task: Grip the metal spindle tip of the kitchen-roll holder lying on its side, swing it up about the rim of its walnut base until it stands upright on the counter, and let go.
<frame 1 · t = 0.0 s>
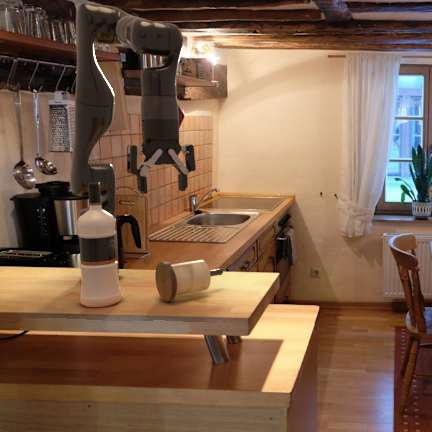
hand: (163, 192, 124), 29 cm above the worktop, tool pointing down, fingers open, 8 cm apart
towel holder: (194, 276, 146), point 5 cm above the worktop, hinge at 0.0°
vodka: (101, 303, 140), on the worktop
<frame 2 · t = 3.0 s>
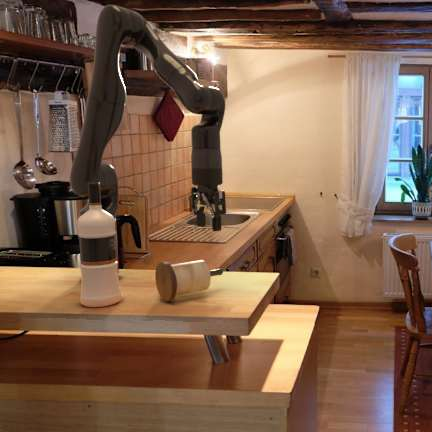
hand: (208, 228, 146), 18 cm above the worktop, tool pointing down, fingers open, 8 cm apart
nothing on the worktop moved.
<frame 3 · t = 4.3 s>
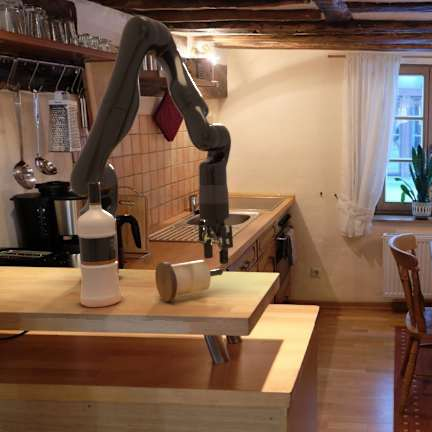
hand: (216, 260, 150), 8 cm above the worktop, tool pointing down, fingers open, 8 cm apart
nothing on the worktop moved.
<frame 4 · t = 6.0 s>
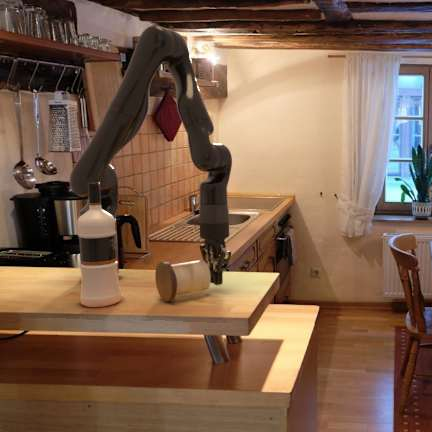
hand: (216, 283, 151), 2 cm above the worktop, tool pointing down, fingers closed on towel holder, 2 cm apart
towel holder: (194, 276, 146), point 5 cm above the worktop, hinge at 0.0°, touching gripper
everything else where it was.
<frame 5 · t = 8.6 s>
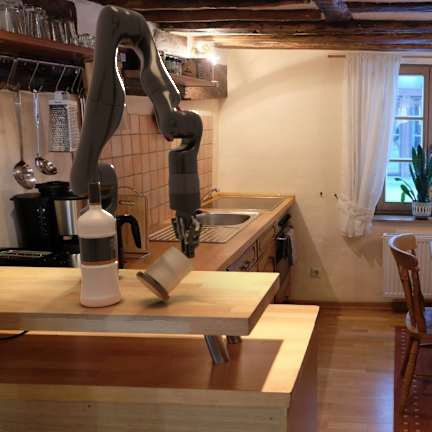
hand: (188, 256, 144), 10 cm above the worktop, tool pointing down, fingers closed on towel holder
towel holder: (175, 264, 142), point 9 cm above the worktop, hinge at 38.7°, touching gripper
everything else where it was.
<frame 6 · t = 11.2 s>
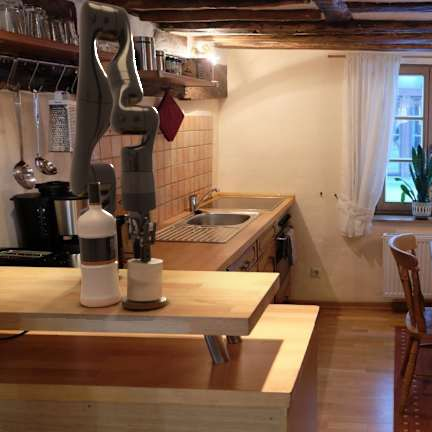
hand: (142, 259, 136), 11 cm above the worktop, tool pointing down, fingers open, 4 cm apart
towel holder: (145, 271, 137), point 8 cm above the worktop, hinge at 85.6°
everything else where it was.
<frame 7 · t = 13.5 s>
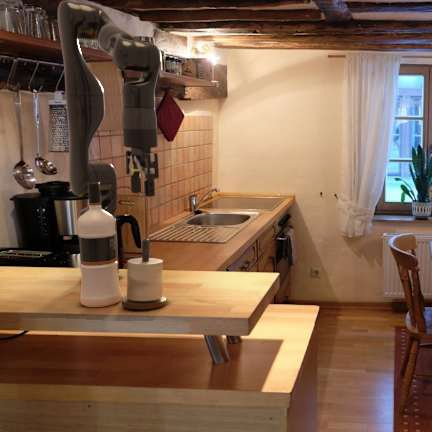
hand: (142, 194, 137), 27 cm above the worktop, tool pointing down, fingers open, 8 cm apart
nothing on the worktop moved.
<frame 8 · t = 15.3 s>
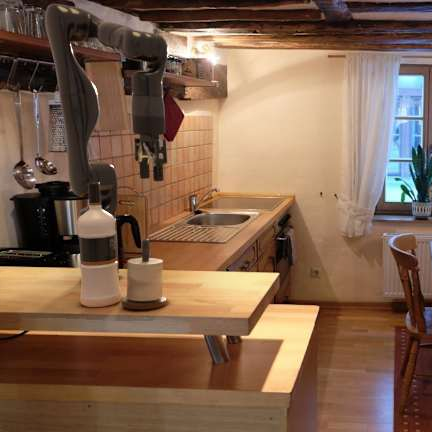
hand: (151, 179, 142), 30 cm above the worktop, tool pointing down, fingers open, 8 cm apart
nothing on the worktop moved.
at the end: towel holder at +86° (first picture: +0°); the gripper is holding nothing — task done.
